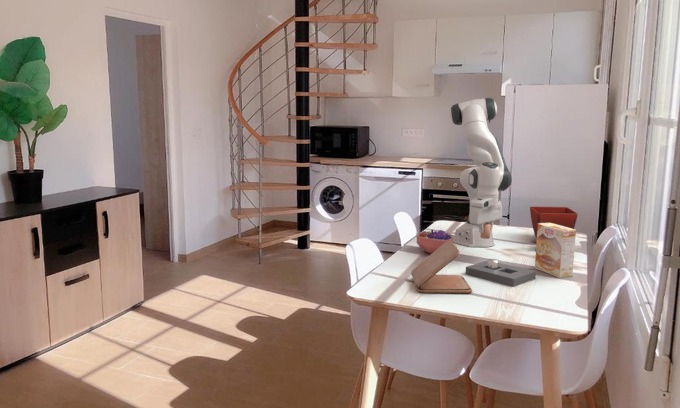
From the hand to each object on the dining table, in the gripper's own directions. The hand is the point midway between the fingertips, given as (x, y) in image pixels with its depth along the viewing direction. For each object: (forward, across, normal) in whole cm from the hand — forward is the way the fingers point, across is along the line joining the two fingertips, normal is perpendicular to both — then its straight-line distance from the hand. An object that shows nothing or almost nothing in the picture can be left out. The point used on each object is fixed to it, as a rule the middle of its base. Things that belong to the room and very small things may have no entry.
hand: (485, 231), depth 241 cm
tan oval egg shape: (+3, 0, 0) cm, 3 cm away
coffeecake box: (+13, -9, +28) cm, 32 cm away
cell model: (+15, +2, -25) cm, 29 cm away
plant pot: (+15, -60, 0) cm, 62 cm away
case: (+14, +41, +8) cm, 44 cm away
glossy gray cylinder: (+14, +13, +13) cm, 23 cm away
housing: (+13, +13, +16) cm, 25 cm away
